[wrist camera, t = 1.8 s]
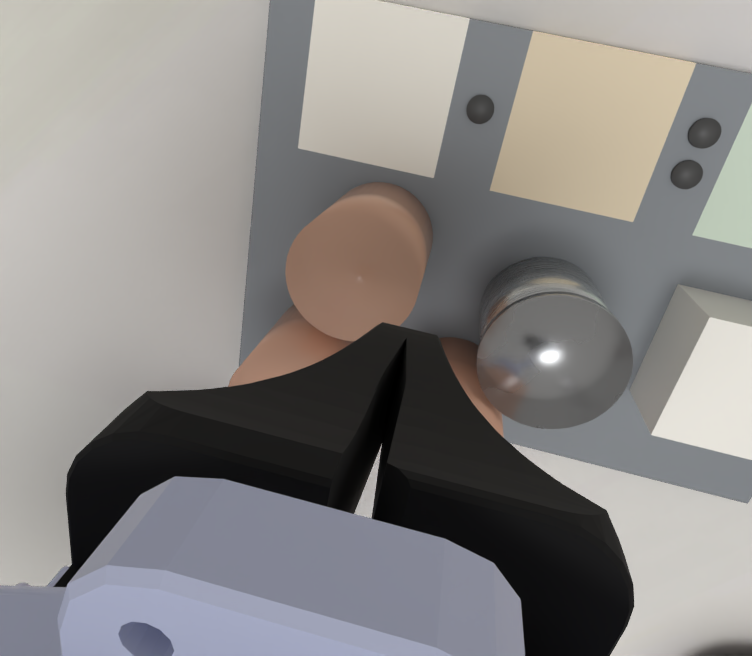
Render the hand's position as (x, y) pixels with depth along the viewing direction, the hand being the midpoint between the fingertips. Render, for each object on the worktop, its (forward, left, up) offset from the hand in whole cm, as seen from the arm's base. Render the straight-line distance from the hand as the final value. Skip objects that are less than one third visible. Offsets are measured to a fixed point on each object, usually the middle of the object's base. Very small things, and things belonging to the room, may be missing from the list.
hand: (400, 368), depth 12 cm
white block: (-1, -11, -9) cm, 14 cm away
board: (0, -4, -10) cm, 11 cm away
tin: (-1, -4, -9) cm, 10 cm away
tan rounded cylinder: (0, +2, -9) cm, 10 cm away
